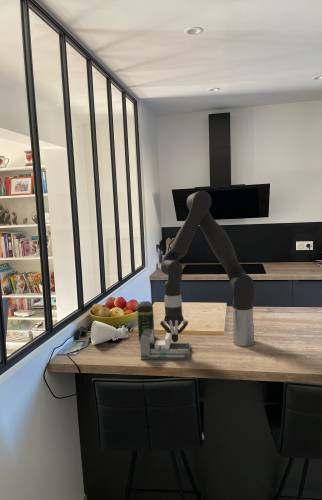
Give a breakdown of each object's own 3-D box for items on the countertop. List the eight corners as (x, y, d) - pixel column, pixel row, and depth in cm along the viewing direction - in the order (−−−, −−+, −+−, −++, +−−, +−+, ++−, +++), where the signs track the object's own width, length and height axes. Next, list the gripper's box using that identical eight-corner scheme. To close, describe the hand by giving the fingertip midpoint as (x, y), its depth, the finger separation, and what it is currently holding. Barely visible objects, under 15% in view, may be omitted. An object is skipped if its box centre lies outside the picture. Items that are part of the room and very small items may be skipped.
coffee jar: (154, 342, 182) (152, 305, 179) (138, 342, 182) (135, 306, 179) (154, 334, 192) (152, 299, 189) (139, 335, 192) (137, 300, 189)
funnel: (130, 317, 191) (95, 316, 184) (133, 337, 184) (97, 336, 176) (123, 329, 199) (90, 328, 191) (126, 349, 191) (91, 349, 184)
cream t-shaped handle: (171, 345, 172) (170, 331, 171) (168, 356, 162) (167, 340, 161) (157, 345, 173) (156, 331, 172) (153, 356, 163) (152, 340, 162)
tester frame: (190, 346, 174) (189, 328, 172) (188, 360, 160) (188, 339, 159) (146, 346, 177) (145, 328, 175) (140, 359, 163) (139, 339, 162)
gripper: (188, 301, 167) (190, 338, 170) (159, 301, 169) (161, 338, 172) (187, 306, 160) (189, 345, 162) (157, 306, 162) (159, 344, 164)
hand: (175, 341), depth 167 cm, fingers closed
